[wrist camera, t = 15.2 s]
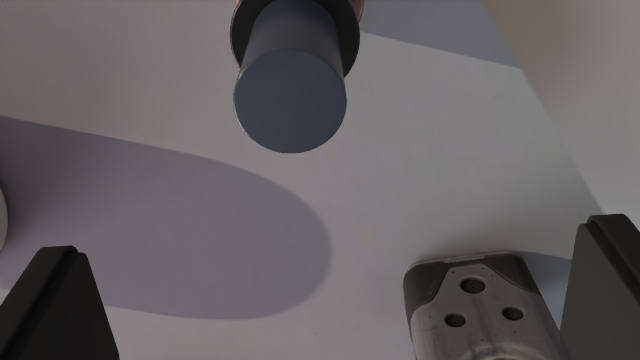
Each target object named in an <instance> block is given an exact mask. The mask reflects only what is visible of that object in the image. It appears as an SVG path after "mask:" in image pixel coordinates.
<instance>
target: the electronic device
mask: <svg viewBox="0 0 640 360" xmlns="http://www.w3.org/2000/svg"><path fill="white" fill-rule="evenodd" d="M402 282H403V293H404V303H405V309H406V315H407V320H408V325H409V330H410V335H411V340H412V344H413V349H414V355H415V360H568V359H567V357H566V355H565V353H564V351H563V348H562V345H561V340H560V331H559V329H558V327H557V325H556V323H555V321H554V319H553V317H552V315H551V313H550V311H549V309H548V307H547V305H546V303H545V301H544V299H543V297H542V295H541V293H540V291H539V289H538V287H537V285H536V283H535V281H534V279H533V277H532V275H531V273H530V271H529V269H528V267H527V265H526V263H525V261H524V259H523V257H522V256H520V255H519V254H518V253H516V252H512V251H497V252H489V253H481V254H473V255H465V256H457V257H449V258H441V259H433V260H426V261H421V262H417V263H414V264H413V265H411V266H409V267H408V268H407V269H406V271H405V272H404V274H403V279H402Z"/></svg>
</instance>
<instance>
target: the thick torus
mask: <svg viewBox="0 0 640 360" xmlns="http://www.w3.org/2000/svg"><path fill="white" fill-rule="evenodd" d="M7 227H8V214H7V207H6V202H5V198H4V195H3V192H2V190H1V187H0V251H1V249H2V247H3V245H4V242H5V239H6V234H7Z"/></svg>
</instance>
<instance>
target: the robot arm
mask: <svg viewBox="0 0 640 360" xmlns="http://www.w3.org/2000/svg"><path fill="white" fill-rule="evenodd" d="M560 340H561V345H562V348H563V351H564V353H565V355H566V357H567V359H568V360H640V232H639V231H638V229H637V228H636V227H635V226H634V224H633V223H632V222H631V221H630V220H629V218H628V217H627V216H626V215H624V214H609V215H592V216H590V217H589V219H588V220H587V223H586V224H580V225H579V227H578V229H577V234H576V240H575V246H574V252H573V258H572V263H571V269H570V275H569V281H568V287H567V292H566V298H565V304H564V310H563V316H562V322H561V327H560ZM0 360H119V353H118V349H117V346H116V343H115V340H114V337H113V334H112V331H111V328H110V325H109V322H108V319H107V316H106V313H105V310H104V307H103V303H102V300H101V297H100V294H99V291H98V288H97V285H96V282H95V279H94V276H93V273H92V270H91V267H90V264H89V261H88V258H87V256H86V254H85V253H82V252H81V253H78V251H77V249H76V248H75V247H74V246H55V247H43V248H40V250H39V251H38V252H37V253H36V254H35V256H34V257H33V259H32V260H31V262H30V263H29V265H28V266H27V268H26V269H25V271H24V272H23V273H22V275H21V276H20V278H19V279H18V281H17V282H16V284H15V285H14V287H13V288H12V289H11V291H10V292H9V294H8V295H7V297H6V298H5V300H4V301H3V303H2V304H1V306H0Z"/></svg>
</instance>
